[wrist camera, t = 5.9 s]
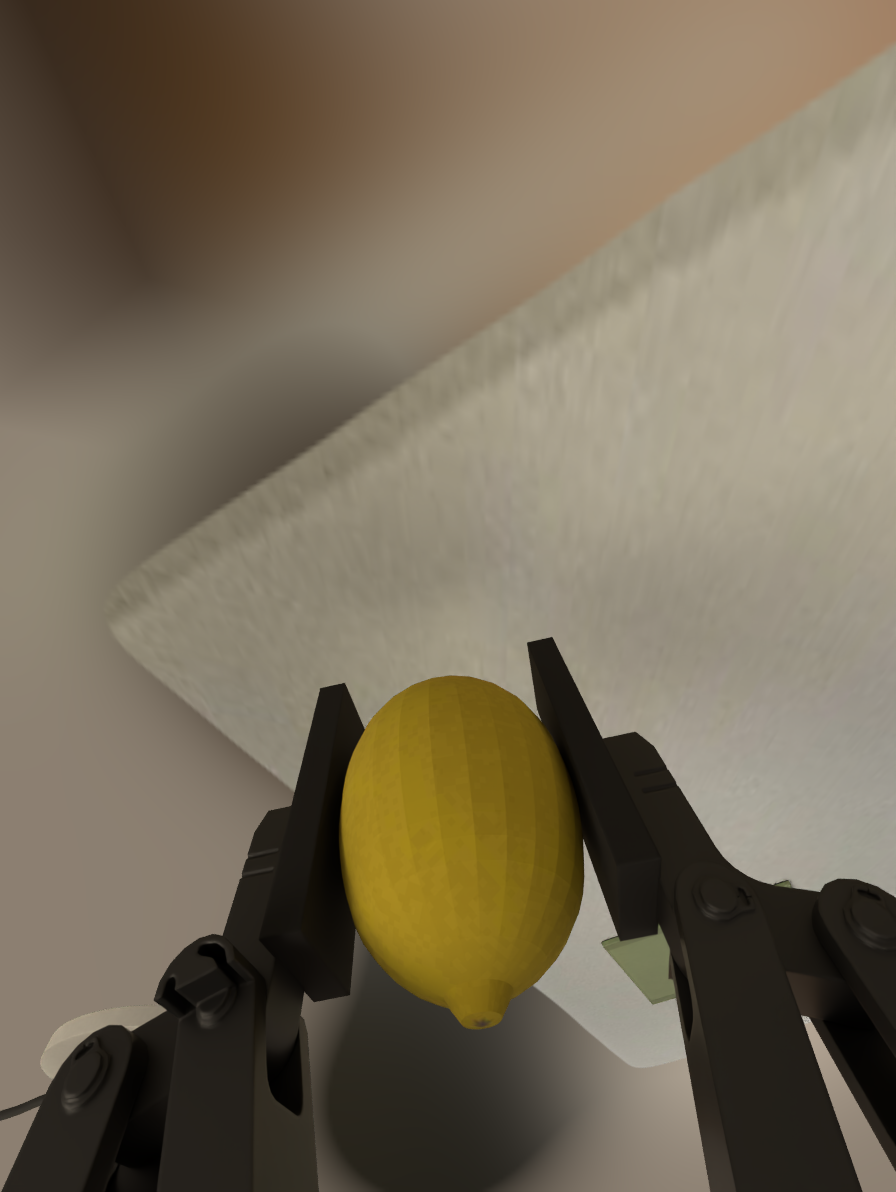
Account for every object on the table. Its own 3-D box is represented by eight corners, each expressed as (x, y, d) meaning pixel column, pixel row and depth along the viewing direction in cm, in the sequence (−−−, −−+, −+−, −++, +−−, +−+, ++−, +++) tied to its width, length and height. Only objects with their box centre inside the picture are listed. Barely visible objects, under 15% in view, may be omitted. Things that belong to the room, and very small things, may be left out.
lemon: (566, 669, 14) (721, 981, 7) (467, 775, 16) (512, 1099, 9) (417, 589, 12) (429, 902, 5) (325, 719, 14) (249, 1070, 7)
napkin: (651, 1001, 47) (652, 1005, 46) (601, 942, 39) (602, 946, 39) (809, 954, 44) (812, 958, 43) (787, 880, 36) (790, 884, 36)
